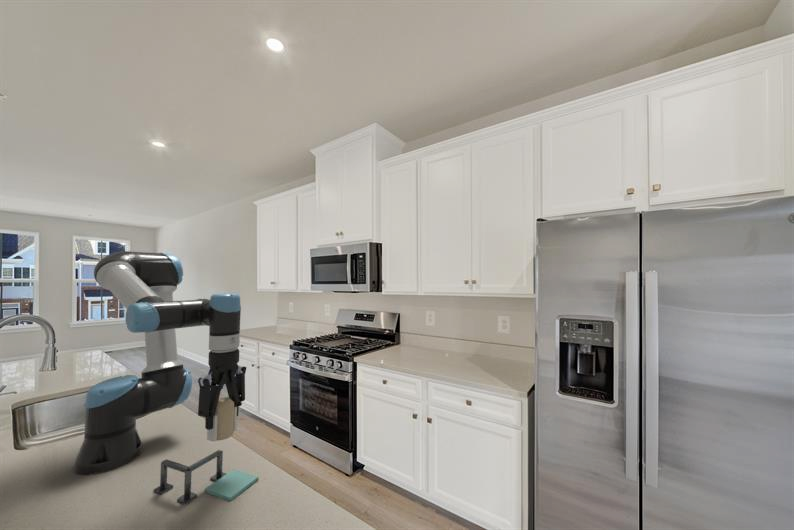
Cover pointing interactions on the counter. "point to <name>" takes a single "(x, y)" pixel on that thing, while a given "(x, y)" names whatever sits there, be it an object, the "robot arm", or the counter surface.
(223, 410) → the candle
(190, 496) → the handrail
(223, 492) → the pad
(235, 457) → the counter surface
